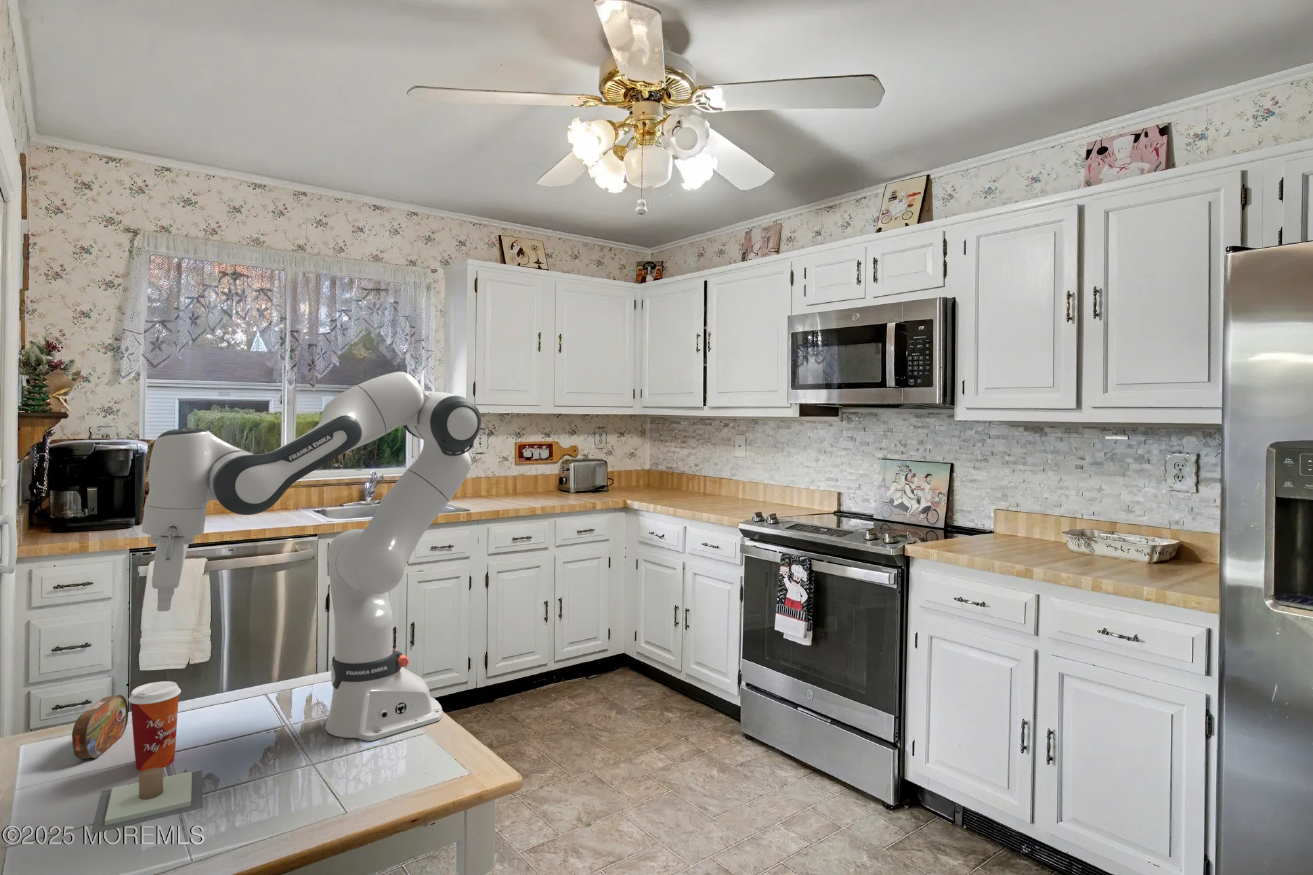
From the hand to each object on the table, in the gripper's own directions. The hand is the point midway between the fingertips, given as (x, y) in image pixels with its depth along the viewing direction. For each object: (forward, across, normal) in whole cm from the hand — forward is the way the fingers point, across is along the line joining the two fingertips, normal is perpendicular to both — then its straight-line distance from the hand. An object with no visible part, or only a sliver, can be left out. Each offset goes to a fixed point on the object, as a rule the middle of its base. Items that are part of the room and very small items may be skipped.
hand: (165, 602), depth 123 cm
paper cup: (+31, +6, -1) cm, 32 cm away
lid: (+30, -8, -1) cm, 31 cm away
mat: (+31, -8, -1) cm, 32 cm away
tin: (+32, +19, +8) cm, 38 cm away
